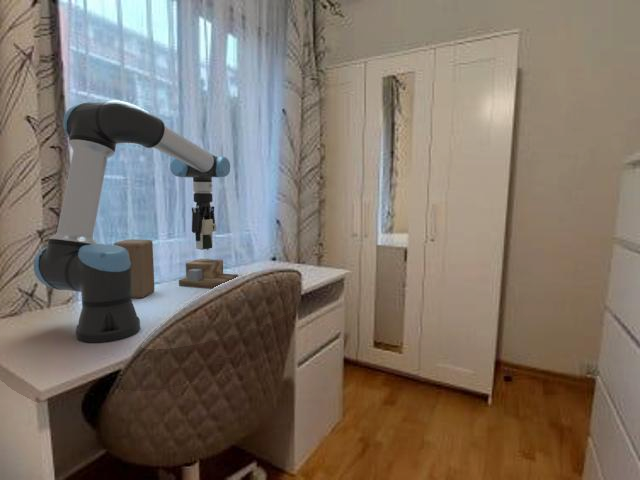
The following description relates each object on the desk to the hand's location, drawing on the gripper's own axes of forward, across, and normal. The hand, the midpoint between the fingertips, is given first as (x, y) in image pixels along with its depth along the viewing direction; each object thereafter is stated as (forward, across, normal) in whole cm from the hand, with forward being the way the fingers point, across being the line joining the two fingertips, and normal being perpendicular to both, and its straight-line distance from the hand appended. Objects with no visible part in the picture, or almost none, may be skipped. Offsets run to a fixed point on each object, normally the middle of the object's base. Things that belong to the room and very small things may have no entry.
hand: (204, 247), depth 162 cm
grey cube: (+12, -8, 0) cm, 15 cm away
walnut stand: (+15, -3, -4) cm, 15 cm away
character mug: (+1, 0, 0) cm, 1 cm away
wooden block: (+15, -27, +12) cm, 33 cm away
